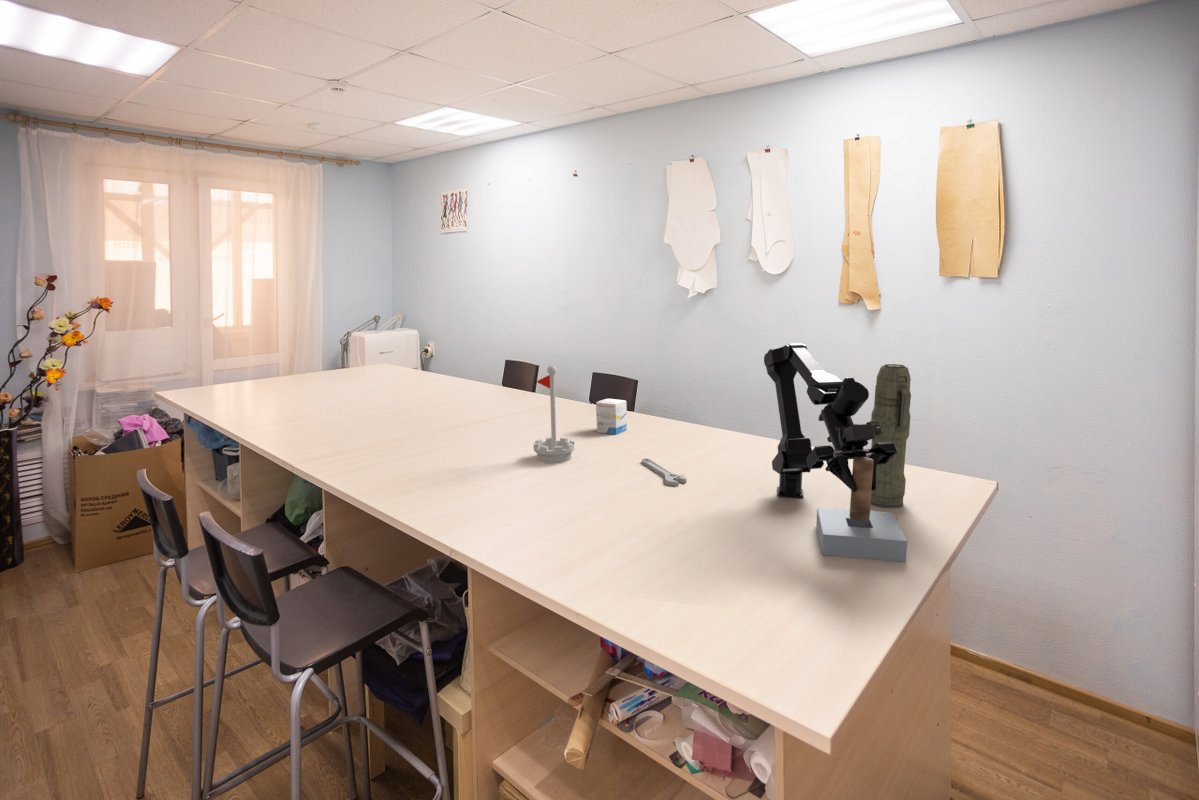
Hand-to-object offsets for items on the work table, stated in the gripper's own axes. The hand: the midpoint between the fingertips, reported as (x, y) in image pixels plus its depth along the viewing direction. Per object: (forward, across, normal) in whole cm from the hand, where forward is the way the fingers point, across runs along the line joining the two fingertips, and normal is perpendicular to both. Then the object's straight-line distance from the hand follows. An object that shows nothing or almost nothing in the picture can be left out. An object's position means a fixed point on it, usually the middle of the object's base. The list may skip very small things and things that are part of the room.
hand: (864, 490), depth 137 cm
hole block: (+8, 0, +10) cm, 12 cm away
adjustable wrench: (-32, -28, +51) cm, 66 cm away
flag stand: (-48, -58, +66) cm, 100 cm away
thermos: (-7, +20, +25) cm, 33 cm away
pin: (+4, 0, +6) cm, 7 cm away
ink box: (-70, -34, +89) cm, 118 cm away
